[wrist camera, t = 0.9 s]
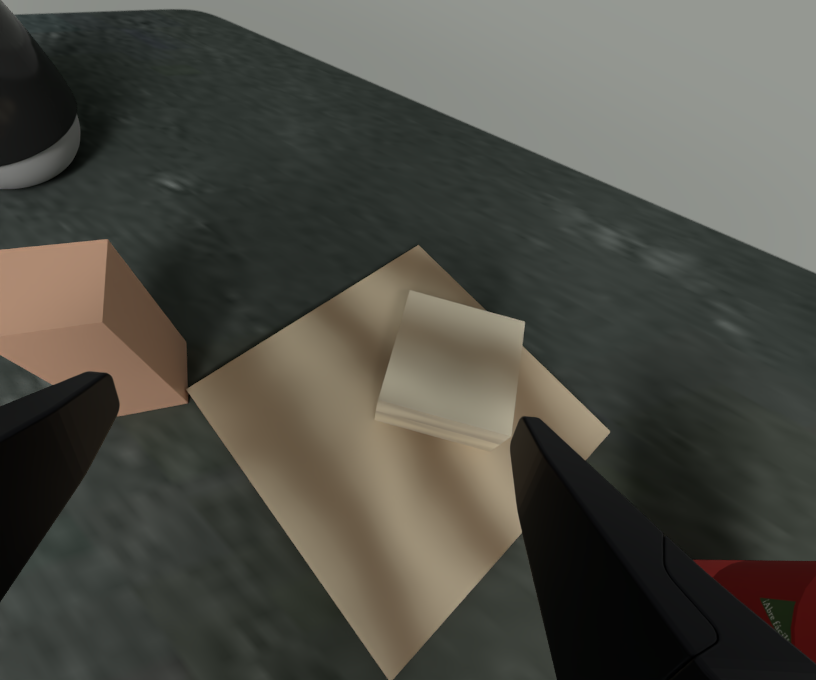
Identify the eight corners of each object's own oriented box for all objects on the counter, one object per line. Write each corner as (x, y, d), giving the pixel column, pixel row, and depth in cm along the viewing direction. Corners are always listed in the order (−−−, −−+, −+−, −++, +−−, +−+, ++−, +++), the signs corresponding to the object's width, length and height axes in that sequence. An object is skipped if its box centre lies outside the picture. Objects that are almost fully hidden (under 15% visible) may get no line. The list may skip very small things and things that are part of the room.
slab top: (499, 444, 23) (511, 436, 21) (376, 410, 23) (378, 399, 21) (514, 335, 26) (525, 321, 24) (406, 306, 26) (409, 290, 24)
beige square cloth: (389, 679, 19) (390, 682, 19) (189, 392, 24) (186, 389, 24) (605, 434, 26) (610, 431, 26) (417, 250, 31) (418, 244, 31)
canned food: (606, 573, 23) (799, 588, 13) (728, 546, 24) (984, 541, 14) (667, 759, 19) (989, 967, 10) (804, 714, 21) (1202, 855, 11)
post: (188, 403, 24) (102, 322, 16) (110, 417, 23) (-26, 340, 15) (186, 342, 26) (107, 239, 17) (113, 353, 25) (-8, 250, 16)
